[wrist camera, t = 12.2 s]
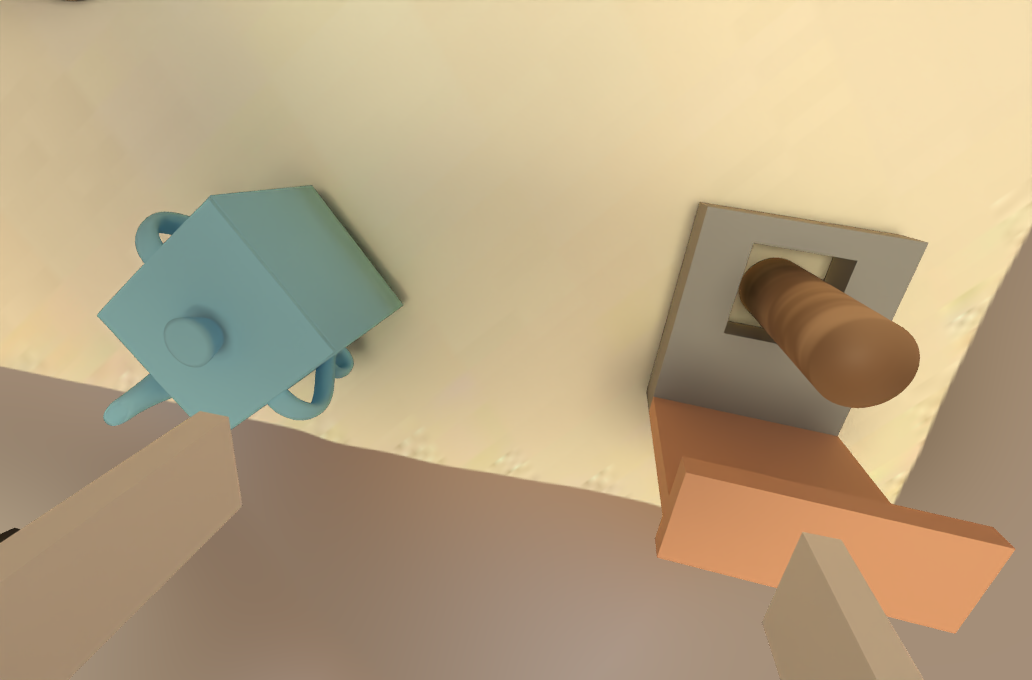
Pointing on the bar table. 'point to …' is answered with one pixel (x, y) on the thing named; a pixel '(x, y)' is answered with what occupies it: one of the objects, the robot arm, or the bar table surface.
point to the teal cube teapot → (245, 306)
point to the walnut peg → (830, 335)
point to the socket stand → (790, 433)
